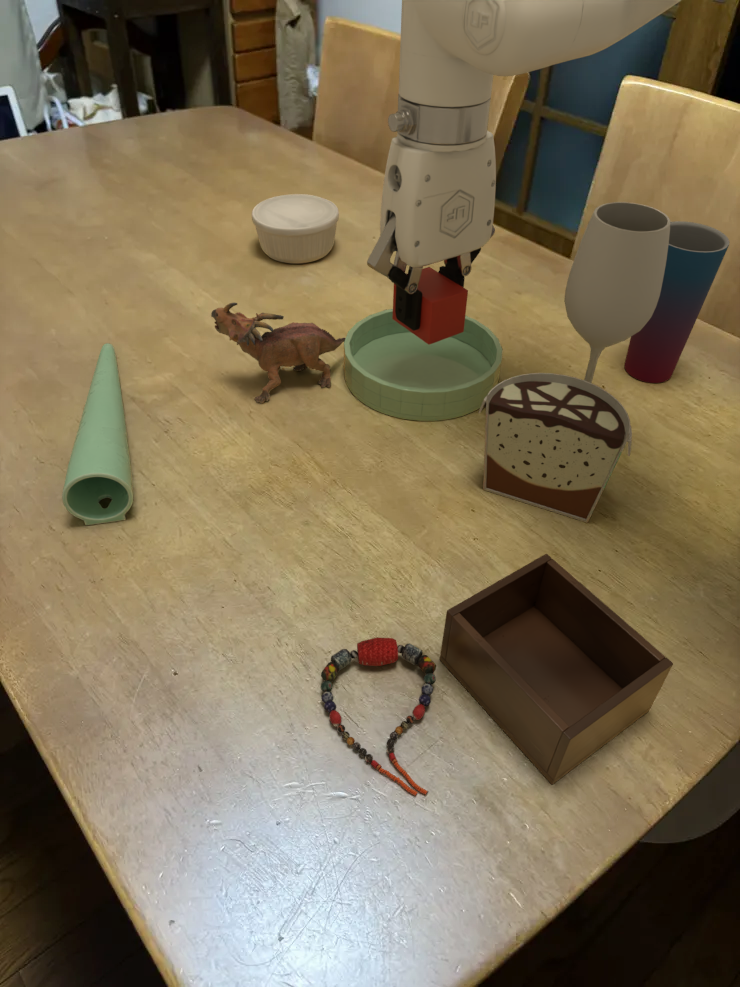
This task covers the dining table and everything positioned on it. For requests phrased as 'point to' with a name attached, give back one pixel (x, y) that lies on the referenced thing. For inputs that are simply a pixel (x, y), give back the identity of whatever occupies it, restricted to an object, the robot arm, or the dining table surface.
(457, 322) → the block
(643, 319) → the wineglass
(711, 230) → the cup
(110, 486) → the mint green cone
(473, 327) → the bowl
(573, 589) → the box
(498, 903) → the dining table surface
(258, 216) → the ramekin
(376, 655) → the necklace
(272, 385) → the dinosaur figurine
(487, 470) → the cake cutout
